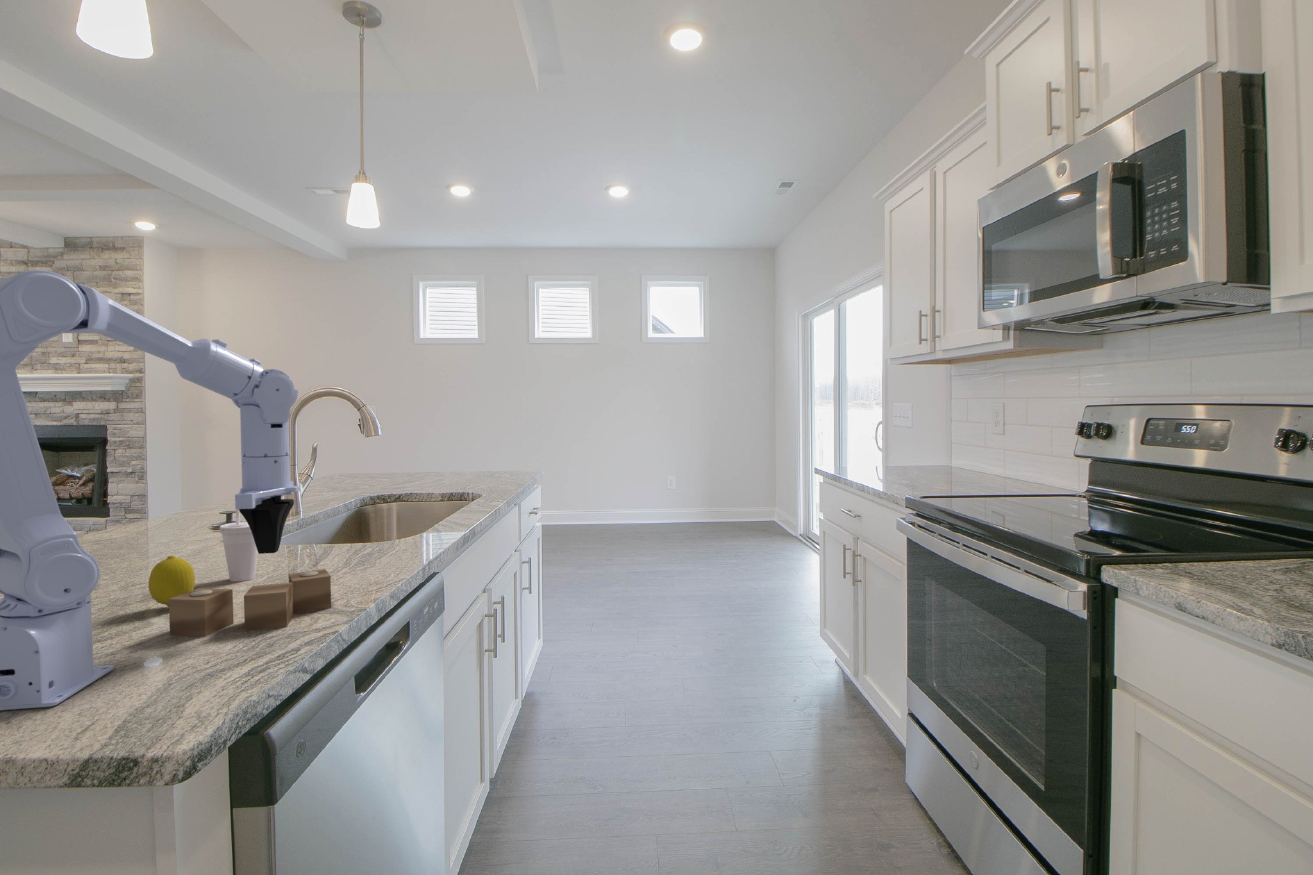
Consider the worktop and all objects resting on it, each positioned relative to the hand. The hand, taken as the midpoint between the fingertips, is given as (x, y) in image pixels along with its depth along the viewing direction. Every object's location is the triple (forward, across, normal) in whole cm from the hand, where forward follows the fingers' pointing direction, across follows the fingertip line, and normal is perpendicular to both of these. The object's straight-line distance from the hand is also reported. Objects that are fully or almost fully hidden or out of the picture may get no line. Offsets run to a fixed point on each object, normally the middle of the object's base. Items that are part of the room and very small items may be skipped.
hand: (268, 552), depth 88 cm
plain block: (+10, 0, 0) cm, 10 cm away
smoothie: (+10, +26, +14) cm, 31 cm away
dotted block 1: (+10, -1, +8) cm, 13 cm away
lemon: (+10, +10, +17) cm, 22 cm away
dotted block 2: (+10, +7, -3) cm, 13 cm away
